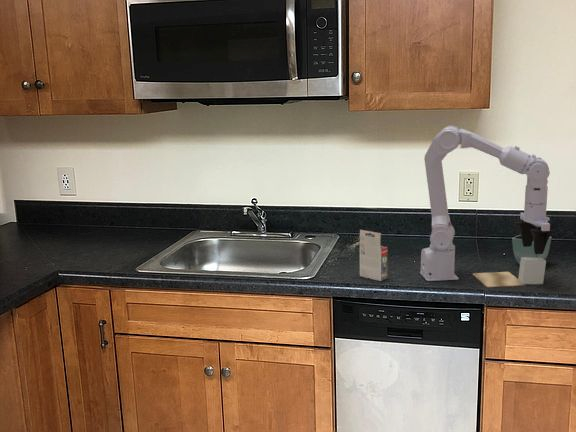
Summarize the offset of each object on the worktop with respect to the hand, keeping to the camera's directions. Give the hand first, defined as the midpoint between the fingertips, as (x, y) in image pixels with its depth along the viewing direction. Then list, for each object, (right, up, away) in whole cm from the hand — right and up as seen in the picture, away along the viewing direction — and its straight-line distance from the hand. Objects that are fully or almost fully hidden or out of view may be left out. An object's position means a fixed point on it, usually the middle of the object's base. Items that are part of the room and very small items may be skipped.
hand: (532, 249), depth 185 cm
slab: (0, -9, +2) cm, 10 cm away
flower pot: (+6, -6, +19) cm, 21 cm away
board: (-8, -9, +6) cm, 13 cm away
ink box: (-43, -9, +11) cm, 46 cm away
